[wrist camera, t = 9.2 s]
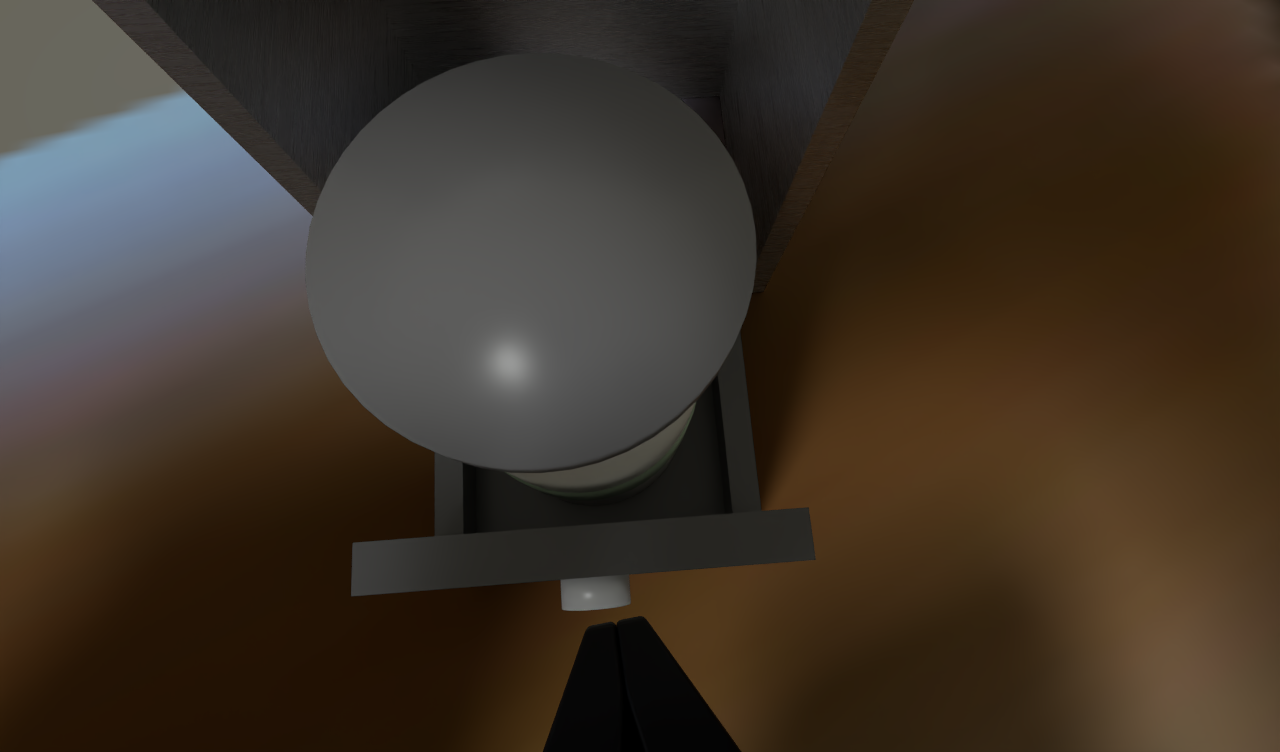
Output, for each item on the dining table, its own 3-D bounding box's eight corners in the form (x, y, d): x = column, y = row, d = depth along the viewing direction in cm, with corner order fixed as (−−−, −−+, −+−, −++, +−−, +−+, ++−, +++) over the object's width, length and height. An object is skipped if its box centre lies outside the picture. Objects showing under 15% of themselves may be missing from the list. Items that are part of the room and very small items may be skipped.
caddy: (763, 291, 23) (986, -139, 8) (414, 316, 23) (6, -84, 8) (735, 79, 25) (875, -568, 10) (416, 99, 25) (94, -535, 10)
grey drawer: (763, 575, 20) (842, 601, 12) (448, 600, 20) (328, 642, 12) (730, 287, 22) (779, 157, 15) (447, 307, 22) (345, 185, 15)
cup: (726, 443, 20) (847, 306, 8) (562, 551, 19) (441, 566, 8) (623, 292, 21) (603, -13, 10) (465, 387, 21) (231, 183, 9)
